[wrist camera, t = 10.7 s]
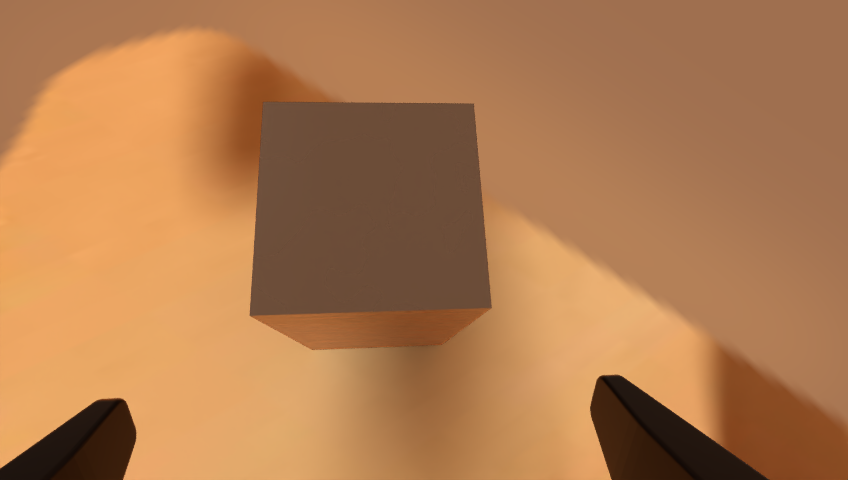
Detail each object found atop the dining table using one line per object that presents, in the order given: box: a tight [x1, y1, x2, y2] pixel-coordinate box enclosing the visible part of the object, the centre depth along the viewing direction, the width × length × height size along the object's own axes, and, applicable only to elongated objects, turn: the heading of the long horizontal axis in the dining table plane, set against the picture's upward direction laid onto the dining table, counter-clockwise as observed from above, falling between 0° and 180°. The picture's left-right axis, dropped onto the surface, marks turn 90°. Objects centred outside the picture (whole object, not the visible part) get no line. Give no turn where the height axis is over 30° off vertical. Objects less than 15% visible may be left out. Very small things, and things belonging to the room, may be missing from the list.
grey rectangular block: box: [250, 102, 491, 350], centre depth 18 cm, size 6×6×11 cm
